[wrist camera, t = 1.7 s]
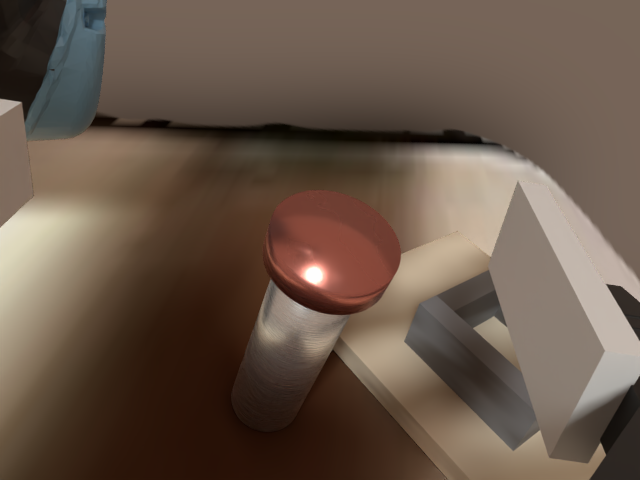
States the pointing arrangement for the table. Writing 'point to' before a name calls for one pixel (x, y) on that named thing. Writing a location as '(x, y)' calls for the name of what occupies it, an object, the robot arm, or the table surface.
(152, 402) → the table surface
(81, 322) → the table surface
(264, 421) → the pin
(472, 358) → the socket
